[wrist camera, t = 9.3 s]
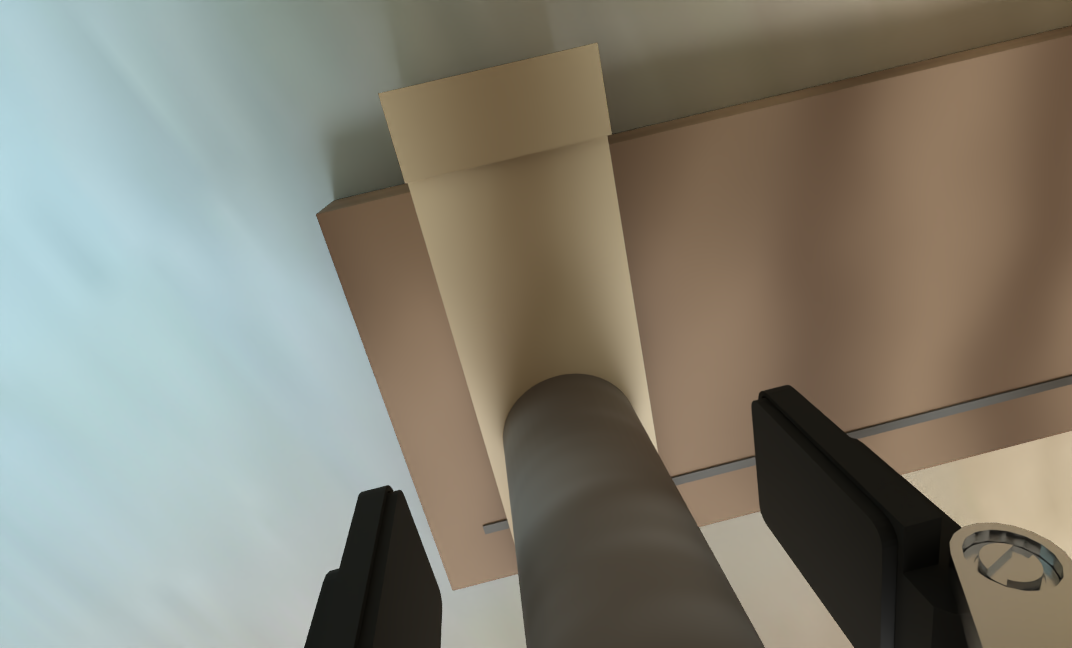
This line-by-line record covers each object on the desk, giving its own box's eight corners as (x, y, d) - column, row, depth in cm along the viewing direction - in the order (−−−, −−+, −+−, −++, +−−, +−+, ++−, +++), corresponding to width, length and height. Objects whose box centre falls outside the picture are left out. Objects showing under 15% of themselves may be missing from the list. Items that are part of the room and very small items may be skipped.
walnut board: (1219, -10, 16) (1324, -25, 14) (1140, 369, 21) (1210, 397, 19) (333, 200, 15) (314, 215, 13) (453, 544, 20) (452, 593, 18)
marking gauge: (559, 58, 14) (884, -80, 3) (644, 525, 20) (868, 1053, 9) (402, 95, 14) (189, 81, 3) (532, 554, 20) (619, 1125, 9)
